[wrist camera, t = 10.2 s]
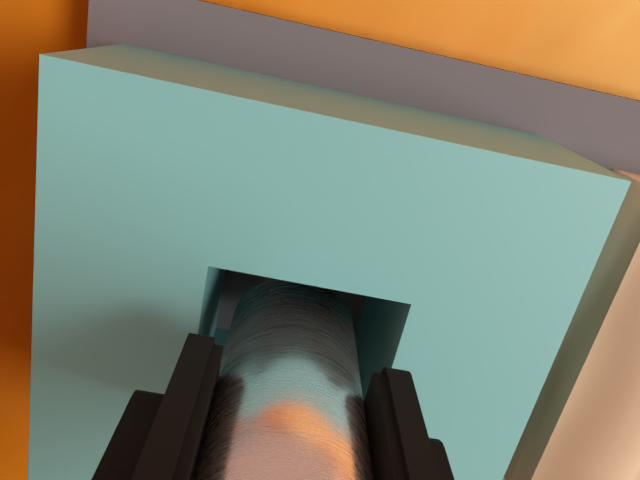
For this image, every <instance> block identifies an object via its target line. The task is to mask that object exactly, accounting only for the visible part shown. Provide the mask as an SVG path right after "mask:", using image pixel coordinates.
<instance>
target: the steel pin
mask: <svg viewBox="0 0 640 480" xmlns="http://www.w3.org/2000/svg"><path fill="white" fill-rule="evenodd" d="M192 480H374V479H373V472H372V464H371V457H370V449H369V441H368V434H367V426H366V418H365V411H364V403H363V396H362V388H361V380H360V373H359V365H358V357H357V350H356V342H355V335H354V327H353V319H352V315H351V312H350V310H349V307H348V305H347V304H346V302H345V300H344V299H343V298H342V296H341V295H340V294H339V293H338V292H337V291H336V290H332V289H327V288H322V287H316V286H311V285H306V284H301V283H295V282H290V281H285V280H279V279H274V278H268V279H265V280H263V281H261V282H259V283H257V284H256V285H255V286H253V287H252V288H250V289H249V290H248V291H247V292H246V293H245V294H244V295H243V297H242V298H241V299H240V301H239V302H238V304H237V306H236V308H235V311H234V314H233V318H232V322H231V325H230V329H229V333H228V336H227V340H226V344H225V348H224V351H223V355H222V360H221V366H220V371H219V377H218V382H217V385H216V389H215V393H214V397H213V401H212V404H211V408H210V412H209V416H208V420H207V423H206V427H205V431H204V435H203V439H202V442H201V446H200V450H199V454H198V458H197V462H196V465H195V469H194V473H193V477H192Z"/></svg>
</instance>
